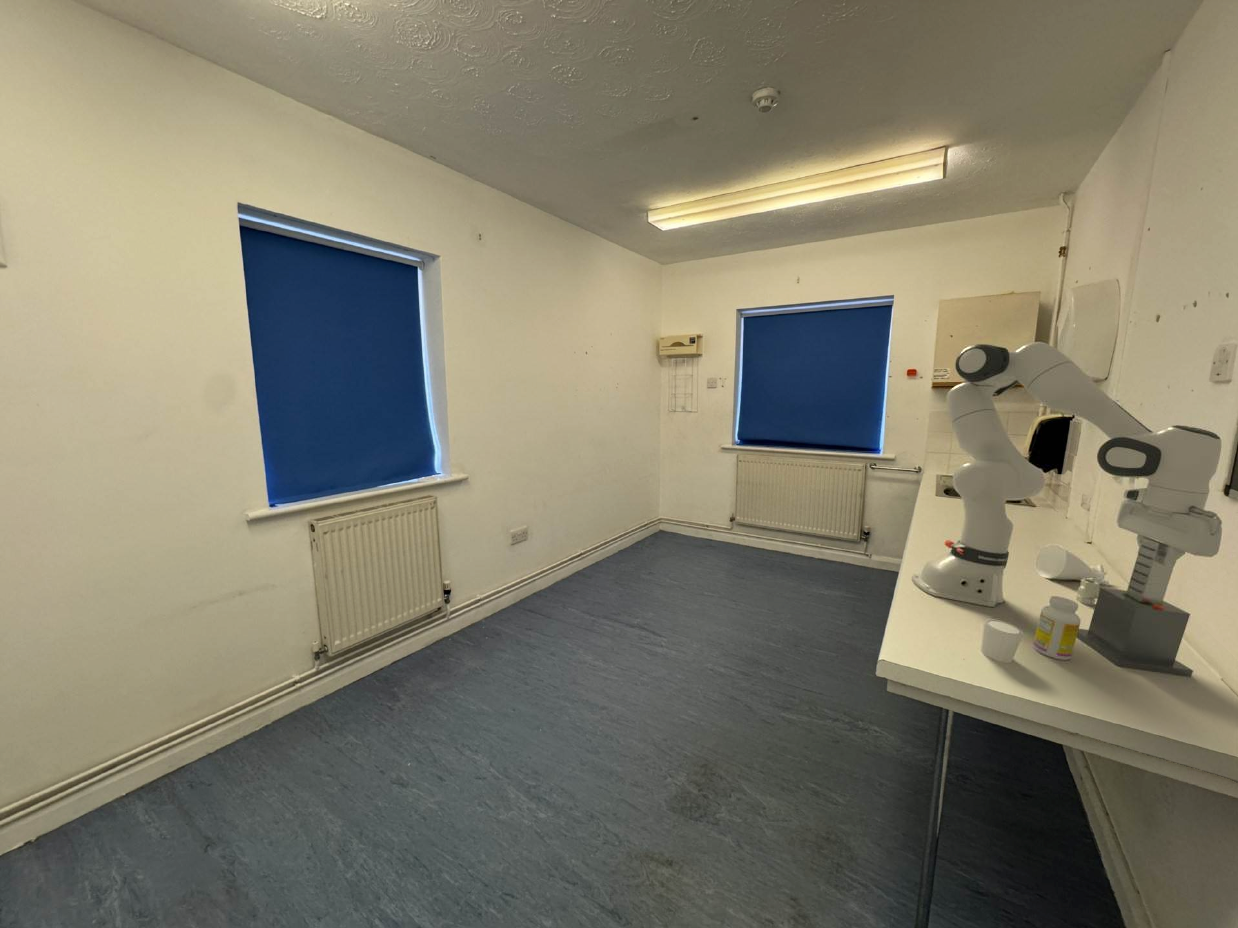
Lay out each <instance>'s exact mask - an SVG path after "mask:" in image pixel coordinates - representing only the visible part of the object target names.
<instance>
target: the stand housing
mask: <svg viewBox="0 0 1238 928" xmlns="http://www.w3.org/2000/svg"><path fill="white" fill-rule="evenodd" d="M1099 591H1100V592H1099V595H1098V599H1096V601H1095V606H1094V610H1093V613H1092V616H1091V620H1090V624H1089V626H1088V629H1085V628H1079V629H1078V633H1077V637H1076V639H1078V640H1080V641H1081V642H1082V643H1084V644H1086V645H1087V646H1088V647H1090V649H1093V650H1094V651H1095V652H1096V653H1098V654H1100V655H1101V656H1102V657H1104V658H1105V659H1107V660H1108V661H1109V662H1111V663H1112V664H1113V665H1115V666H1117V667H1122V668H1128V669H1134V670H1141V671H1149V672H1155V673H1161V674H1167V675H1168V674H1169V675H1177V676H1183V677H1184V676H1185V677H1189V678H1190V677H1192V676H1193V672H1194V670H1193V669H1191V668H1190V667H1188V666H1187V665H1185V664H1183V663H1182V662H1179V661H1178V660H1177V659H1176V658H1177V656H1178V651H1179V650H1180V646H1181V642H1182V640H1183V637H1184V634H1185V631H1186V628H1187V626H1188V621H1189V619H1190V617H1191V613H1189V612H1187V611H1185V610H1183V609H1181V608H1180V607H1177V606H1175V605H1173V604H1171V603H1169V602H1168V601H1167V602H1166V601H1165V600H1163V602H1162V603H1163V605H1160V604H1156V603H1154V604H1153V605H1147V604H1140V603H1138V602H1136V601H1134V600H1132V599H1131V598H1129V597H1127V596H1125V593H1126V592H1127V590H1123V589H1115V588H1109V587H1108V588H1107V587H1099Z"/></svg>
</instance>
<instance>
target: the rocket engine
mask: <svg viewBox="0 0 1238 928" xmlns="http://www.w3.org/2000/svg"><path fill="white" fill-rule="evenodd" d="M1034 567H1035V570H1036V573H1037V574H1038V575H1039V576H1041V577H1042V578H1044V579H1050V580H1062V581H1063V580H1064V581H1065V580H1071V581H1072V580H1075V581H1079V582H1081V580H1082V579H1088V580H1093V581H1095V582H1098V583H1099V584H1100V585H1103V586H1106V587H1108V586H1110V582H1109V580H1105V575H1107V571H1106V570H1105V568H1104V566H1103V564H1096V565H1095V566H1094V565H1093V566H1092V565H1089V564H1088V562H1086V561H1084V560H1083V559H1082V558H1081V557H1079V556H1077V555H1076V554H1075V553H1073V552H1072V551H1070V550H1069V549H1067V548H1065V547H1064V546H1061V545H1060V544H1057V543H1049V544H1047V545H1045V546H1043V547H1042V548H1041V549H1039V551H1038V553H1037V554H1036V557H1035V560H1034Z"/></svg>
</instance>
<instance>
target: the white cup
mask: <svg viewBox="0 0 1238 928" xmlns="http://www.w3.org/2000/svg"><path fill="white" fill-rule="evenodd" d="M982 627H983V628H982V636H981V647H980V652H981V653H982V654H983V655H984V656H986V657H987V658H989V659H991V660H993V661H996V662H999V663H1004V664H1005V663H1006V664H1009V663H1012V662H1013V660H1014V657H1015V654H1016V652H1017V650H1018V647H1019V645H1020V642H1021V640H1022V638H1023V635H1024V632H1023V630H1022V629H1021V628H1018V627H1017V626H1016V625H1013V624H1011V623H1009V622H1005V621H1002V620H998V619H993V618H992V619H991V618H988V619H985V620H984V621H983V626H982Z"/></svg>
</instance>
